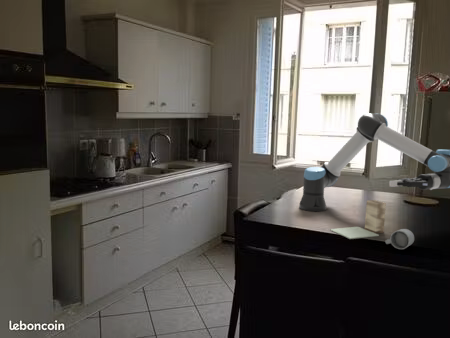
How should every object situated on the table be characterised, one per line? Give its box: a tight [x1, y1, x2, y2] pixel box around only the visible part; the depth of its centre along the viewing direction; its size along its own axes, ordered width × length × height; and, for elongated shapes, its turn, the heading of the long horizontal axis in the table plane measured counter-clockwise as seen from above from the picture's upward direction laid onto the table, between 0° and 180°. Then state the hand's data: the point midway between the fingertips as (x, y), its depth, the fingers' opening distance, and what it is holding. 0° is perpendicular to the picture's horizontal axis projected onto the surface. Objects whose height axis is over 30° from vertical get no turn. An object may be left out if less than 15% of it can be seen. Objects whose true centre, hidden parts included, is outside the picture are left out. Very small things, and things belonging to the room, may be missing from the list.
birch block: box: [364, 199, 387, 234], centre depth 188 cm, size 5×7×14 cm
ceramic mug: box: [384, 228, 415, 250], centre depth 167 cm, size 11×8×8 cm
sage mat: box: [330, 226, 380, 240], centre depth 185 cm, size 16×14×1 cm
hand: (390, 183), depth 189 cm, fingers closed
